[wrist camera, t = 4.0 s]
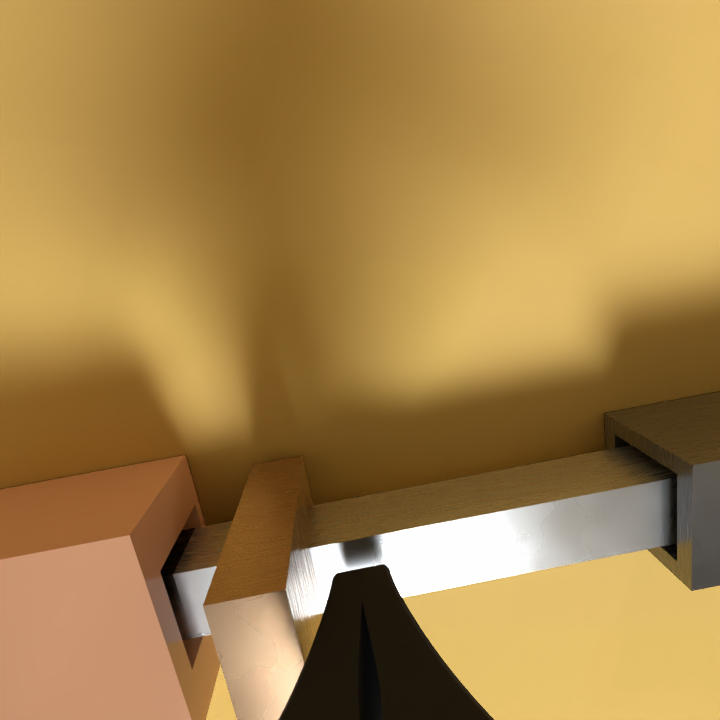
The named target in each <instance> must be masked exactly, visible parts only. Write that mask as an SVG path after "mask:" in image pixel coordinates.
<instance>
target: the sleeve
mask: <svg viewBox="0 0 720 720" xmlns="http://www.w3.org/2000/svg"><path fill="white" fill-rule="evenodd" d="M604 417H605V441H606V450H607V449H612V448H618V447H623V446H628V445H632V446H634V447H636V448H637V449H639V450H640V451H642V452H643V453H645V454H646V455H648V456H650V457H651V458H653V459H654V460H656V461H657V462H659V463H660V464H662V465H664V466H665V467H667V468H668V469H670V470H671V471H673V472H674V473H676V474H677V543H676V544H671V545H666V546H661V547H656V548H651V549H647V550H648V551H650V552H651V553H652V554H653V555H654V556H655V557H656V558H657V559H658V560H659V561H660V562H661V563H662V564H663V565H664V566H666V567H667V568H668V569H669V570H670V571H671V572H672V573H673V574H674V575H675V576H676V577H677V578H678V579H679V580H680V581H682V582H683V583H684V584H685V585H686V586H687V587H688V588H689V589H690V590H691V591H694V590H699V589H704V588H709V587H714V586H719V585H720V392H715V393H709V394H704V395H699V396H693V397H688V398H683V399H677V400H672V401H667V402H661V403H656V404H651V405H646V406H640V407H635V408H630V409H624V410H619V411H614V412H608V413H604Z"/></svg>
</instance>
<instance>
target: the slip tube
mask: <svg viewBox="0 0 720 720" xmlns="http://www.w3.org/2000/svg"><path fill="white" fill-rule="evenodd" d="M676 543H677V474H676V473H674V472H673V471H671V470H670V469H668V468H667V467H665V466H664V465H662V464H660V463H659V462H657V461H656V460H654V459H653V458H651V457H650V456H648V455H646V454H645V453H643V452H642V451H640V450H639V449H637V448H636V447H634V446H632V445H628V446H623V447H618V448H612V449H607V450H602V451H597V452H591V453H586V454H581V455H576V456H570V457H565V458H560V459H555V460H549V461H544V462H539V463H534V464H528V465H523V466H518V467H513V468H507V469H502V470H497V471H491V472H486V473H481V474H476V475H470V476H465V477H460V478H455V479H449V480H444V481H439V482H434V483H428V484H423V485H418V486H413V487H407V488H402V489H397V490H392V491H386V492H381V493H376V494H371V495H365V496H360V497H355V498H349V499H344V500H339V501H334V502H328V503H323V504H318V505H313V501H312V496H311V492H310V487H309V483H308V478H307V474H306V469H305V465H304V460H303V456H298V457H293V458H287V459H282V460H277V461H271V462H266V463H261V464H255V465H252V468H251V470H250V473H249V476H248V479H247V482H246V485H245V488H244V490H243V493H242V496H241V499H240V502H239V505H238V507H237V510H236V513H235V516H234V519H233V521H229V522H223V523H218V524H213V525H207V526H202V527H197V528H192V529H186V530H181V532H180V534H179V536H178V538H177V540H176V542H175V544H174V546H173V548H172V549H171V551H170V553H169V555H168V557H167V559H166V561H165V563H164V565H163V567H162V569H161V570H160V573H161V576H162V579H163V582H164V585H165V588H166V591H167V594H168V597H169V601H170V604H171V607H172V610H173V613H174V616H175V619H176V622H177V625H178V628H179V631H180V634H181V637H182V640H187V639H192V638H197V637H202V636H207V635H212V638H213V641H214V645H215V648H216V651H217V654H218V658H219V661H220V664H221V667H222V671H223V674H224V677H225V681H226V684H227V687H228V690H229V694H230V697H231V700H232V704H233V707H234V710H235V713H236V717H237V720H279V718H280V716H281V714H282V712H283V710H284V708H285V706H286V704H287V702H288V699H289V697H290V695H291V693H292V691H293V689H294V687H295V684H296V682H297V680H298V677H299V675H300V673H301V671H302V668H303V666H304V664H305V661H306V659H307V657H308V654H309V652H310V649H311V647H312V644H313V641H314V638H315V636H316V633H317V630H318V627H319V625H320V622H321V619H322V616H323V613H324V609H325V606H326V603H327V599H328V596H329V592H330V588H331V583H332V578H333V577H334V575H335V574H336V573H340V572H345V571H350V570H355V569H360V568H365V567H371V566H376V565H381V564H385V565H387V566H388V567H389V568H390V572H391V575H392V577H393V580H394V582H395V584H396V586H397V589H398V591H399V593H400V594H401V596H402V597H406V596H411V595H416V594H421V593H426V592H432V591H437V590H442V589H447V588H452V587H457V586H462V585H467V584H472V583H477V582H483V581H488V580H493V579H498V578H503V577H508V576H513V575H518V574H523V573H528V572H533V571H539V570H544V569H549V568H554V567H559V566H564V565H569V564H574V563H579V562H584V561H590V560H595V559H600V558H605V557H610V556H615V555H620V554H625V553H630V552H635V551H640V550H646V549H651V548H656V547H661V546H666V545H671V544H676Z"/></svg>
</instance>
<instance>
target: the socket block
mask: <svg viewBox="0 0 720 720" xmlns="http://www.w3.org/2000/svg"><path fill="white" fill-rule="evenodd" d="M202 526H206V524H205V521H204V518H203V514H202V511H201V507H200V504H199V500H198V497H197V493H196V490H195V486H194V483H193V479H192V476H191V472H190V469H189V465H188V462H187V459H186V455H182V456H177V457H171V458H166V459H161V460H155V461H150V462H145V463H139V464H134V465H128V466H123V467H118V468H112V469H107V470H102V471H96V472H91V473H85V474H80V475H75V476H69V477H64V478H59V479H53V480H48V481H42V482H37V483H32V484H26V485H21V486H16V487H10V488H5V489H0V720H206V716H207V713H208V709H209V705H210V701H211V697H212V693H213V690H214V686H215V682H216V678H217V674H218V670H219V667H220V661H219V658H218V654H217V651H216V648H215V645H214V641H213V638H212V635H207V636H202V637H197V638H192V639H187V640H182V637H181V634H180V631H179V628H178V625H177V622H176V619H175V616H174V613H173V610H172V607H171V604H170V601H169V597H168V594H167V591H166V588H165V585H164V582H163V579H162V576H161V573H160V570H161V569H162V567H163V565H164V563H165V561H166V559H167V557H168V555H169V553H170V551H171V549H172V548H173V546H174V544H175V542H176V540H177V538H178V536H179V534H180V532H181V530H186V529H192V528H197V527H202Z"/></svg>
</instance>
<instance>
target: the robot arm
mask: <svg viewBox="0 0 720 720" xmlns="http://www.w3.org/2000/svg"><path fill="white" fill-rule="evenodd" d="M279 720H494V719H493V718H492V717H491V716H490V715H489V714H488V713H487V712H486V710H485V709H484V708H483V707H482V706H481V705H480V704H479V703H478V702H477V701H476V700H475V698H474V697H473V696H472V695H471V694H470V693H469V691H468V690H467V689H466V688H465V687H464V686H463V684H462V683H461V682H460V681H459V680H458V678H457V677H456V676H455V675H454V673H453V672H452V671H451V670H450V668H449V667H448V666H447V665H446V663H445V662H444V661H443V659H442V658H441V657H440V655H439V654H438V652H437V651H436V650H435V648H434V647H433V646H432V644H431V643H430V641H429V640H428V639H427V637H426V636H425V634H424V633H423V631H422V630H421V628H420V626H419V625H418V623H417V622H416V620H415V619H414V617H413V615H412V614H411V612H410V611H409V609H408V607H407V605H406V604H405V602H404V600H403V598H402V596H401V594H400V593H399V591H398V589H397V586H396V584H395V582H394V580H393V577H392V575H391V572H390V568H389V567H388V566H387V565H385V564H381V565H376V566H371V567H365V568H360V569H355V570H350V571H345V572H340V573H336V574H335V575H334V577H333V578H332V583H331V588H330V592H329V596H328V599H327V603H326V606H325V609H324V613H323V616H322V619H321V622H320V625H319V627H318V630H317V633H316V636H315V638H314V641H313V644H312V647H311V649H310V652H309V654H308V657H307V659H306V661H305V664H304V666H303V668H302V671H301V673H300V675H299V677H298V680H297V682H296V684H295V687H294V689H293V691H292V693H291V695H290V697H289V699H288V702H287V704H286V706H285V708H284V710H283V712H282V714H281V716H280V718H279Z"/></svg>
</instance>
